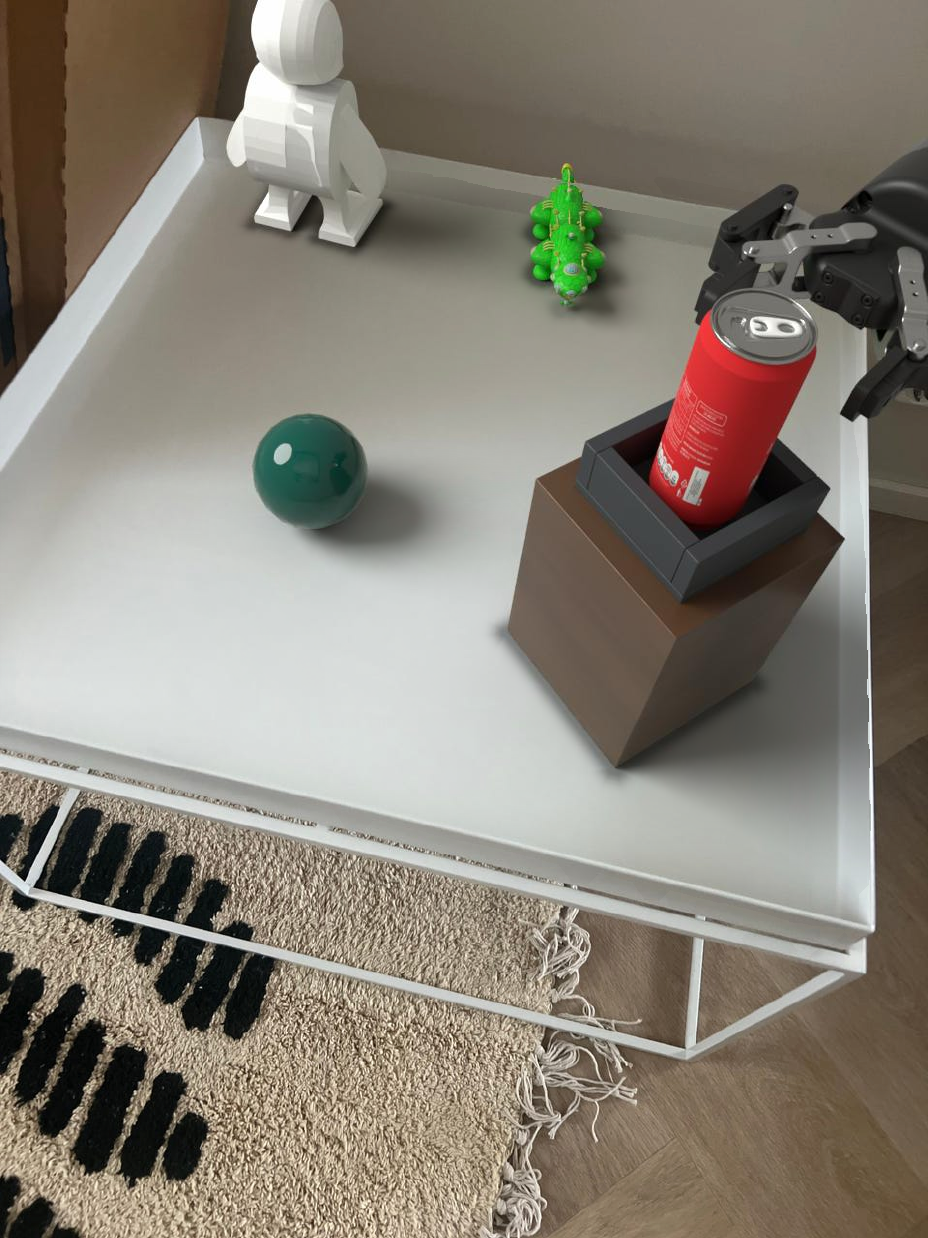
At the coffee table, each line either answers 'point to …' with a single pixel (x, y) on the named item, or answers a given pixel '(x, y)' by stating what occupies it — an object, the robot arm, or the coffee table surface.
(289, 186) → the toy robot
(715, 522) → the beverage can
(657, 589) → the stand
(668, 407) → the socket
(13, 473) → the coffee table surface
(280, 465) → the sphere
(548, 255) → the crocodile figurine
